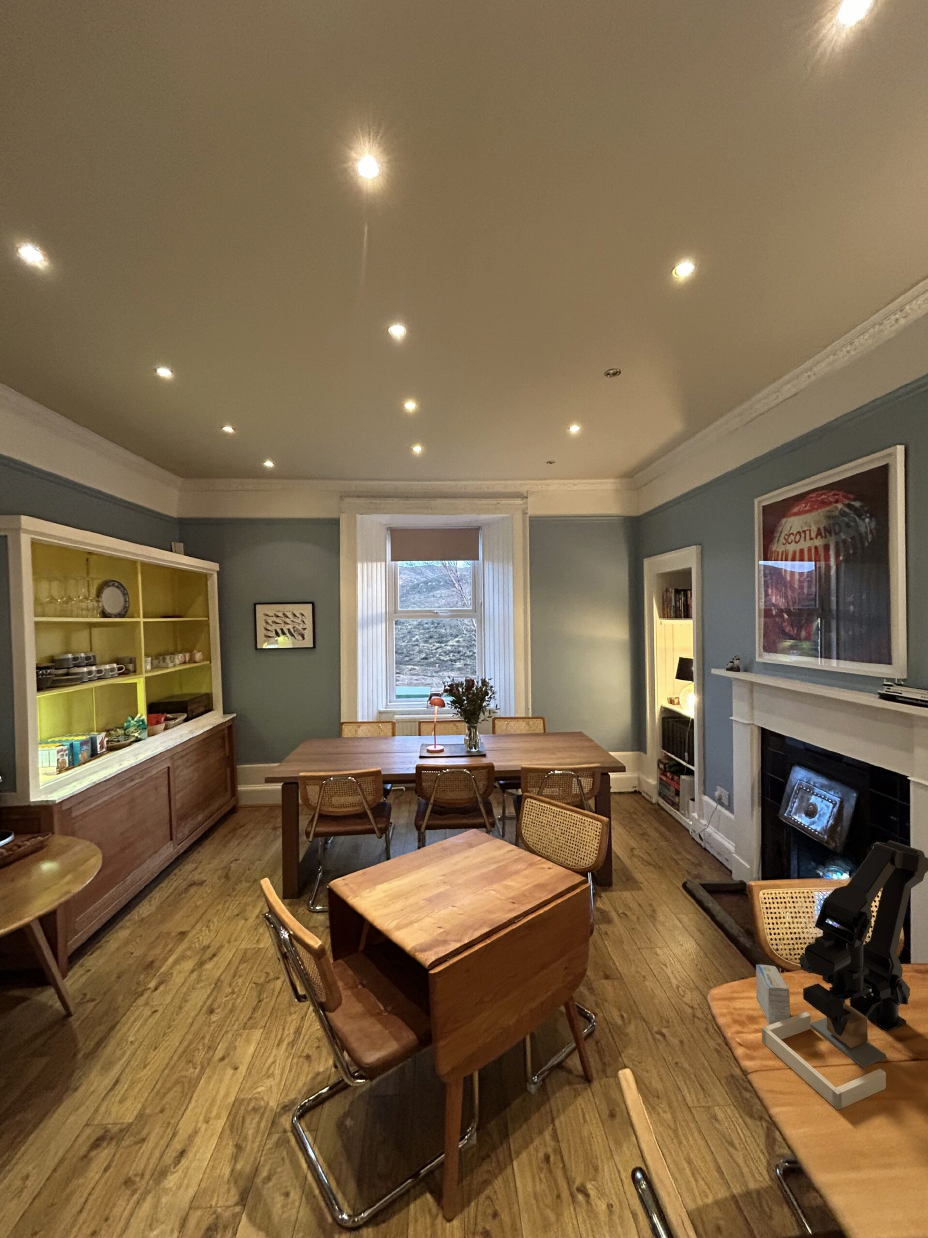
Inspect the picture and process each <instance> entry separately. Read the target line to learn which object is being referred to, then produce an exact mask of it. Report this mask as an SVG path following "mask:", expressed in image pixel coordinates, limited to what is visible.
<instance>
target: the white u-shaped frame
mask: <svg viewBox="0 0 928 1238" xmlns="http://www.w3.org/2000/svg"><path fill="white" fill-rule="evenodd" d="M811 1020H812V1018H811V1014H810V1013H809V1012H808V1011H804V1012H802V1013H799V1014H796V1015H793V1016H790V1018H788V1019H785V1020H782V1021H779V1022H776V1023H774V1024H771V1025H769V1024H768V1025H765V1026H763V1027H761V1042H762V1043H763V1044H764V1045H765V1046H766V1047H767V1048H768V1049H769V1050H770V1051H772V1052H773V1053H774V1054H775V1055H776V1056H777V1057H778V1058H779V1059H781V1060H782V1062H784V1063H785V1064H786V1065H787V1066H788V1067H789V1068H791V1070H793V1071H794V1072H795V1073H796V1074H798V1076H799V1077H800V1078H802V1080H804V1081H805V1082H806V1083H807V1084H808V1085H809V1086H810V1087H811V1088H813V1089H814V1090H815V1092H817V1093H818V1094H819V1095H821V1097H822V1098H823V1099H824V1100H826V1101H827V1102H828V1103H829V1104H830V1105H832V1107H834V1109H836V1110H837V1111H839V1110H841V1109H844V1108H847V1107H848V1106H850V1105H853V1104H855V1103H857V1102H859V1101H861V1100H864V1099H865V1098H868V1097H870V1096H872V1095H874V1094H876V1093H879V1092H880V1091H881V1092H882V1091H884V1090H885V1089H887V1088H886V1086H887V1082H886V1080H887V1079H886V1078H887V1077H886V1076H887V1073H886V1072H885V1071H884V1070H883V1069H881V1068H877V1069H876V1070H873V1071H871V1072H869V1073H867V1074H865V1075H862V1076H860V1077H858V1078H855V1079H853V1080H851V1081H848V1082H847V1083H844V1084H841V1085H839V1086H837V1087H836V1086H834V1084H832V1083H831V1081H829V1080H828V1079H827V1078H826V1077H825V1076H824V1075H822V1074H821V1073H820V1072H818V1071H817V1070H816V1069H815V1068H814V1067H813V1066H811V1065H810V1064H809V1063H808V1062H807V1061H806V1060H804V1058H803V1057H801V1056H800V1055H799V1054H798V1053H797V1052H796V1051H794V1050H793V1049H792V1048H791V1047H789V1045H787V1043H785V1042H784V1041H783V1040H785V1039H787V1038H789V1037H792V1036H794V1035H798V1034H800V1033H802V1032H806V1031H808V1030H811V1029H812V1027H811V1023H812V1021H811Z"/></svg>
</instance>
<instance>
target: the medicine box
mask: <svg viewBox="0 0 928 1238" xmlns="http://www.w3.org/2000/svg"><path fill="white" fill-rule="evenodd" d="M755 969H756V970H755V978H756V979H755V980H756V983H755V985H756V987H755V988H756V993H755V994H756V1001H757V1003H758V1004H759V1006H760V1008H761V1011H762V1012H763V1015H764V1016H765V1018H766V1020H767V1022H768V1025H771V1024H774V1023H776V1022H779V1021H782V1020H785V1019H788V1018H790V1017H791V1004H790V1003H791V1001H790V998H791V996H790V994H791V993H790V989H789V987H788V985H787V983H786V982H785V980H784V978H783V977H782V975H781V973H780V971H779V969H778V968H777V967H776V966H775V965H769V964H768V965H767V964H756V967H755Z"/></svg>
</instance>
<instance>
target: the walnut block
mask: <svg viewBox="0 0 928 1238" xmlns="http://www.w3.org/2000/svg"><path fill="white" fill-rule="evenodd" d="M845 1009H846V1010H848V1011H849V1012H850V1013H851V1014H850V1017H849V1019H848V1022H847V1024H846V1027H845V1029H844V1031H843V1033H842V1035H841V1036H839V1035H838V1034H837V1033H835V1031H834V1028H833V1025H832V1023H831V1020H830V1018H829V1017H826V1018H827V1030H828V1031H829V1032H831V1033H832V1034H833V1035H834V1036H836V1037H837V1038H838V1039H840V1040H841V1041H842V1042H843V1043H845V1044H846V1045H847V1046H849V1047H850V1048H853V1047H855V1046H858V1045H860V1044H863V1043H865V1042H869V1041H868V1039H869V1038H868V1031H869V1029H868V1027H869V1026H868V1017H865V1016H864V1015H863V1014H861V1013H860V1012H858V1011H857V1010H855V1009H854V1008H853V1007H851V1006H850V1004H849V1003H847V1002H845Z"/></svg>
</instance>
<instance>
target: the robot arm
mask: <svg viewBox="0 0 928 1238" xmlns="http://www.w3.org/2000/svg"><path fill="white" fill-rule="evenodd" d="M926 873H928V857H927V856H926V855H925V852H924V850H921V849H918V848H915V847H911V846H909V845H905V844H903V843H900V842H896V841H893V840H888V841H886V842H881V841H880V842H879V841H876V842H873V843H872V844H871V845H870V847H869V852H868V855H867V856H866V858H865V859H864V860H863V862H862V863H861V864H860V866H859V867H858V869H857V870H856V872H855V873H854V875H853V876H852V877H851V879H850V880H849V881H848V883H847V884H846V885H843V886H838V887H835V888H834V889H833V890H832V891H831V892H830V893H829V894H828V896H826V897H825V898H824V900H823V902H822V904H821V907H820V910H819V913H818V915H817V919H816V921H815V924H814V927H815V928H816V929H819V930H820V931H822V935H820V936H817V937H815V938H814V941H812V942H810V943H809V944H808V945H806V947H805V949H804V953H802V954H800V955H799V965H800V968H801V970H802V971H804V972H806V973H809V974H815V975H817V976H821V977H822V981H824V982H825V983H826V984H830V985H831V986H828V987H829V988H825V987H824V986H823V985H821V984H820V983H818V982H817V983H815V984H811V985H809V986H806V987H803V988H802V999H803V1000H804V1001H805V1002H807V1003H808V1004H809V1006H810V1005H811V1006H812V1007H813V1008H814V1009H815V1010H817V1011H818V1012H820V1013H821V1014H822V1015H823V1016H825V1018H827V1017H829V1018H830V1020H831V1023H832V1025H833V1028H834V1031H835V1033H837V1034H838V1035H839V1036H841V1035H842V1033H843V1031H844V1029H845V1027H846V1024H847V1022H848V1019H849V1017H850V1014H851V1013H850V1012H849V1011H848V1010H846V1009H845V1003H846V1001H848V1000H849V1005H850V1006H851V1007H853V1008H854V1009H855V1010H857V1011H858V1012H860V1013H861V1014H863V1015H864V1016H865V1017H867V1019H868V1020H869V1019H870V1020H871V1021H872V1022H873V1023H875V1024H876V1025H878V1026H879V1027H881V1028H882V1029H884V1030H885V1031H892V1030H894V1029H896V1028H899V1027H902V1026H904V1025H907V1020H906V1019H904V1018H903V1017H902V1016H900V1015H899V1011H900V1009H899V1006H900V1005H901V1004H902V1005H909V998H910V996H911V988H910V987H909V985H908V984H907V983H906V982H905V980H904V979H903V966H902V964H901V961H900V958H899V956H898V953H897V952H898V947H899V944H900V943H899V942H900V939H901V934H902V929H903V925H904V921H905V917H906V912H907V907H908V904H909V899H910V895H911V890H912V888H914V887H916V886H917V885H919V884H920V883H922V882H923V881H924V878H925V875H926ZM880 892H881V893H880ZM879 893H880V896H879V901H878V906H877V910H876V913H875V918H874V921H873V923H872V920H873V916H874V915H873V911H872V905H873V902H874V901H875V899H876V898H877V896H878V895H879ZM827 920H829V921H830V922H832V923H835V924H836V925H838V926H836V925H834V924H831V923H830V922H827ZM872 925H873V926H872ZM871 928H872V930H871ZM870 930H871V935H870V938H869V940H868V941H867V942H865V941H866V939H867V937H868V935H869V932H870Z"/></svg>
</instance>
